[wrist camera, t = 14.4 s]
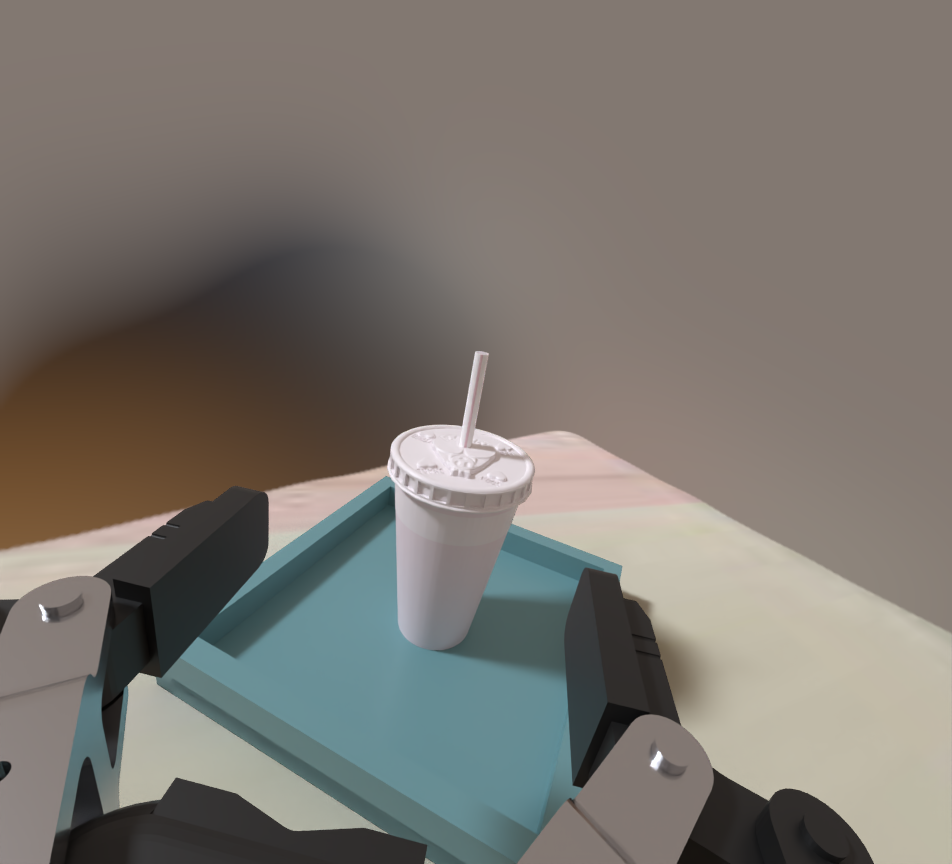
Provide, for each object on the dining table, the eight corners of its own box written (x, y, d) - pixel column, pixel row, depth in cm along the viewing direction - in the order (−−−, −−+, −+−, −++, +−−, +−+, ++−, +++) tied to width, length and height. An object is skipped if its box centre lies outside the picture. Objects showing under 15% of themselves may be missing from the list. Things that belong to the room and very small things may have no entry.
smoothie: (494, 586, 27) (551, 352, 21) (495, 685, 21) (574, 395, 15) (385, 569, 26) (414, 327, 21) (355, 664, 21) (384, 362, 15)
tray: (156, 683, 19) (151, 640, 18) (382, 505, 34) (386, 476, 33) (543, 933, 14) (562, 892, 13) (610, 597, 29) (622, 566, 28)
